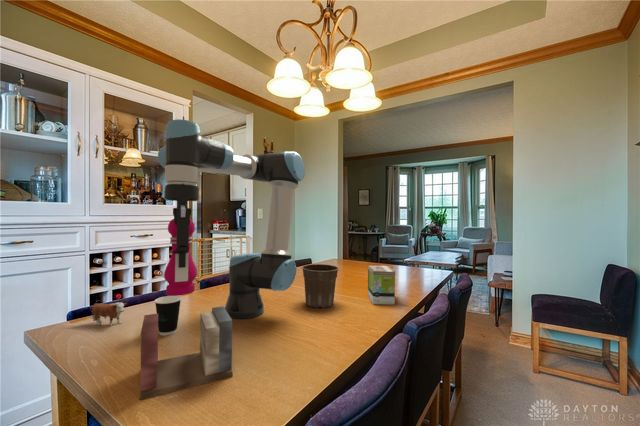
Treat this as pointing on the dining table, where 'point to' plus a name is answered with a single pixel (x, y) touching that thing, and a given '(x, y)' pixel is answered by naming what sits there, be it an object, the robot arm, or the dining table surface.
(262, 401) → the dining table surface
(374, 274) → the tea box
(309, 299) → the plant pot
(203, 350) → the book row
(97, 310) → the bull figurine
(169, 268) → the pepper mill
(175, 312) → the dixie cup
